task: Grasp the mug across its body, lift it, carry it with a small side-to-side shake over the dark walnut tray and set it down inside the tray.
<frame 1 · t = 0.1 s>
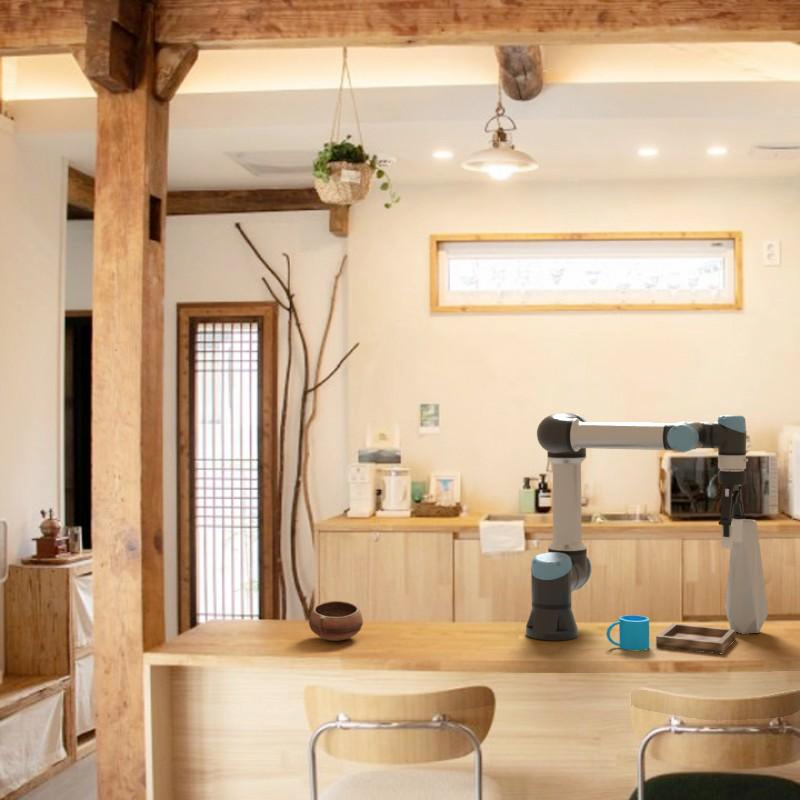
hand: (732, 545, 299), 28 cm above the countertop, fingers open, 13 cm apart
mug: (627, 648, 297), on the countertop
tray: (696, 643, 301), on the countertop
vase: (747, 632, 314), on the countertop
bowl: (336, 639, 309), on the countertop
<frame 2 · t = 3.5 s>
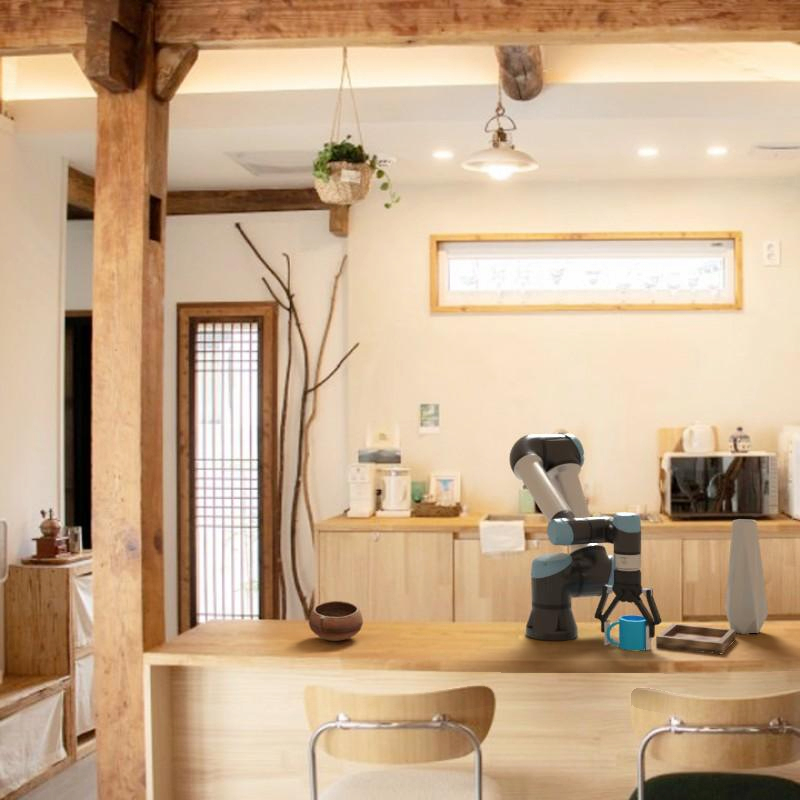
hand: (627, 646, 297), 0 cm above the countertop, fingers open, 11 cm apart
mug: (627, 648, 297), on the countertop, touching gripper
everything else where it was.
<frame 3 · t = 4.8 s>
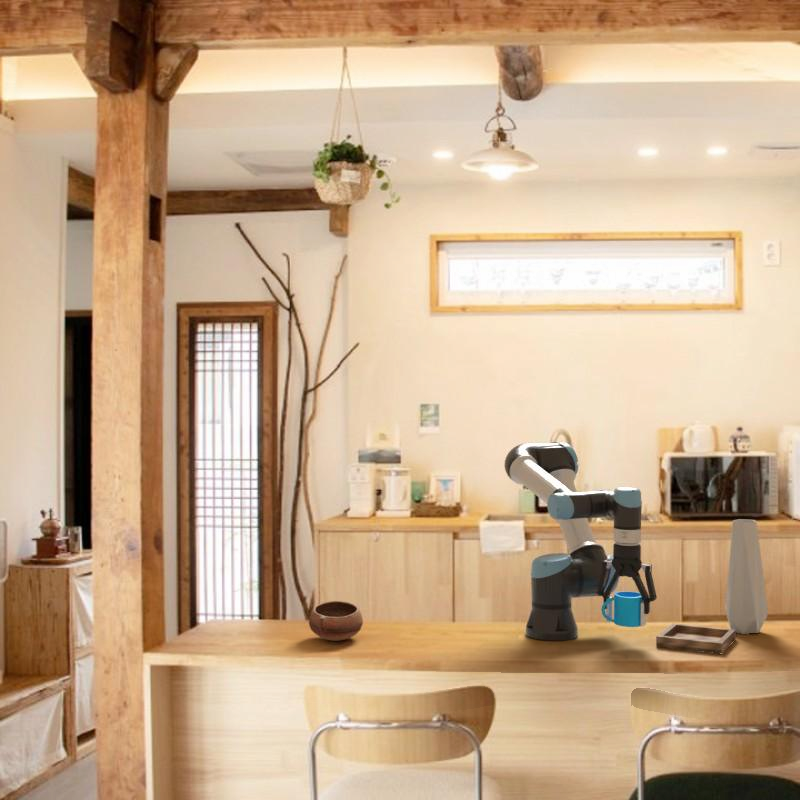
hand: (626, 622, 297), 7 cm above the countertop, fingers closed on mug, 9 cm apart
mug: (622, 624, 298), point 6 cm above the countertop, touching gripper
everything else where it was.
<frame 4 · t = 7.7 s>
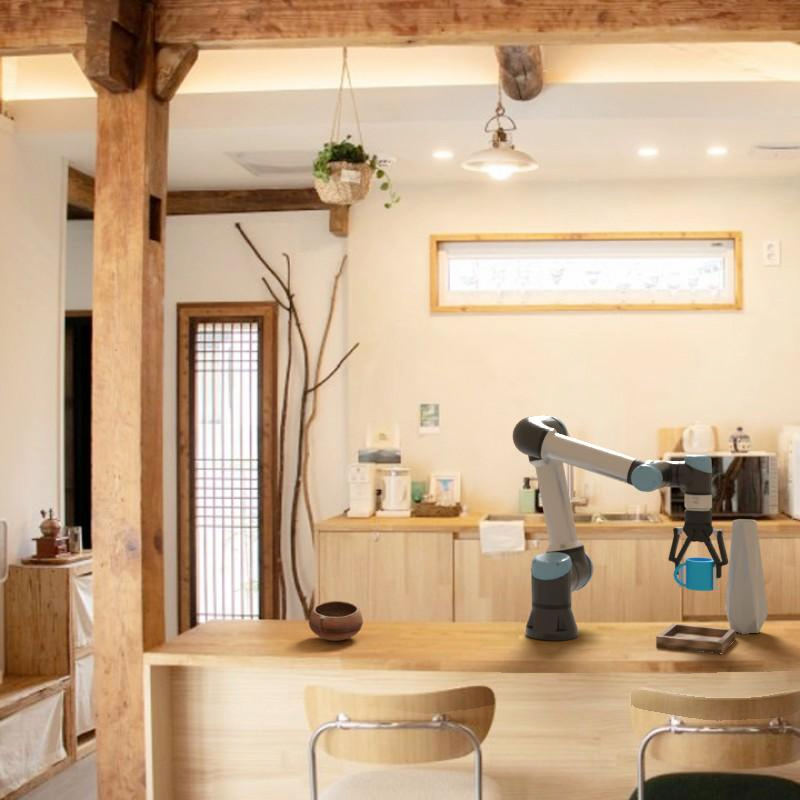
hand: (698, 587, 303), 15 cm above the countertop, fingers closed on mug, 9 cm apart
mug: (693, 589, 303), point 15 cm above the countertop, touching gripper
everything else where it was.
when the fingers open (3 cm above the countertop, at t = 10.8 s): mug drops 2 cm, resting on tray.
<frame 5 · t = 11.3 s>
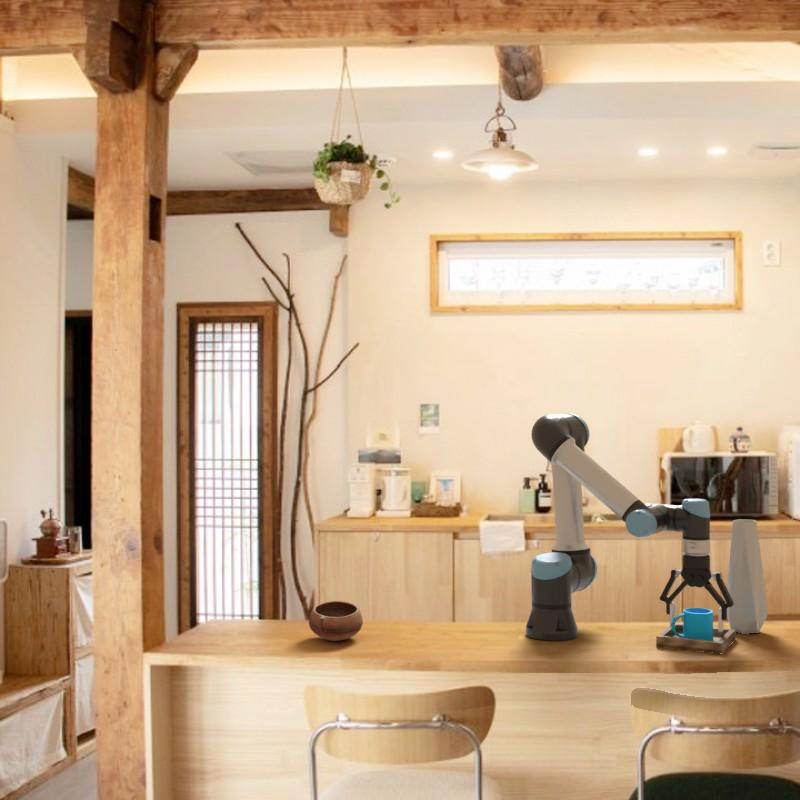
hand: (696, 628, 300), 4 cm above the countertop, fingers open, 13 cm apart
mug: (691, 640, 301), point 1 cm above the countertop, touching tray
everything else where it was.
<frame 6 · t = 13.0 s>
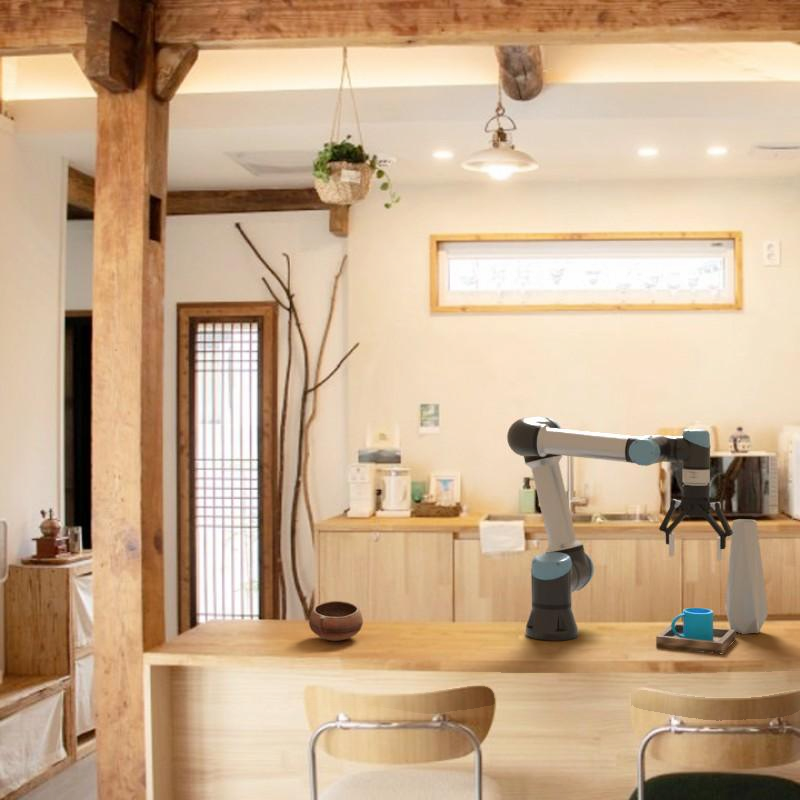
hand: (695, 558, 303), 24 cm above the countertop, fingers open, 13 cm apart
nothing on the countertop moved.
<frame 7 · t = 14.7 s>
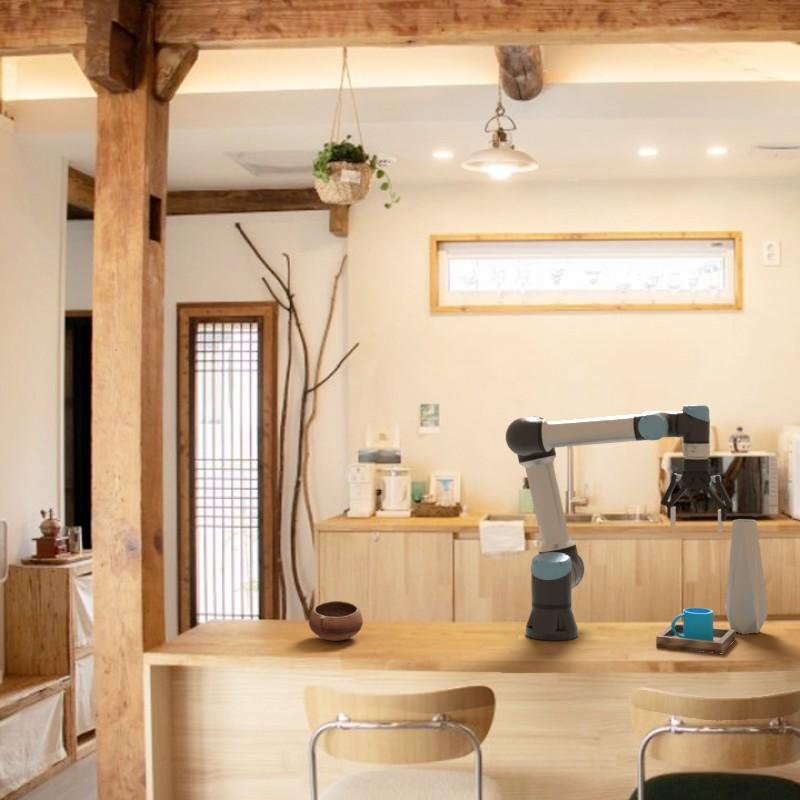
hand: (696, 530, 309), 31 cm above the countertop, fingers open, 13 cm apart
nothing on the countertop moved.
at the end: mug inside the target area on the tray (1.3 cm from its centre), point 0.8 cm above the tray's base; mug tilted 0°; the gripper is holding nothing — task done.
